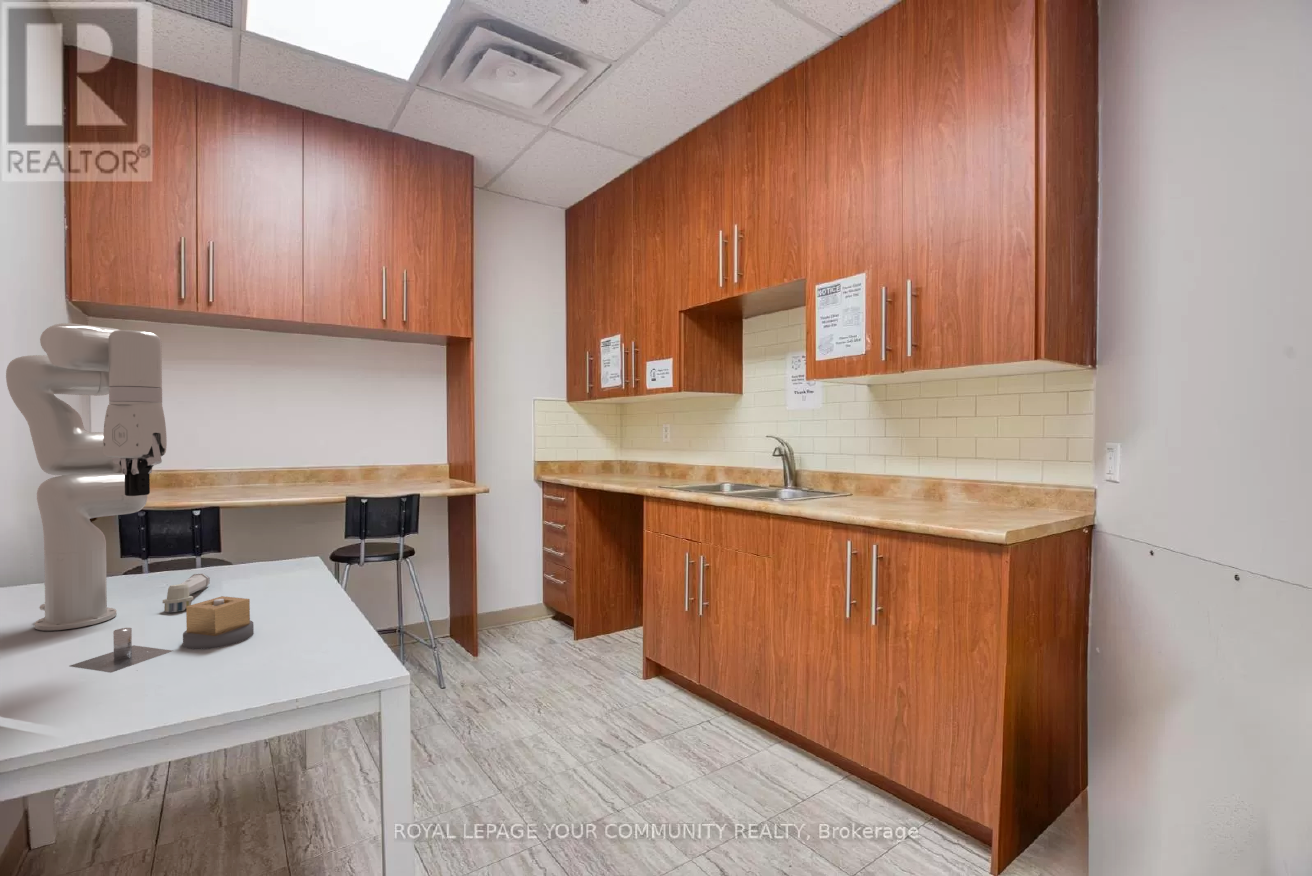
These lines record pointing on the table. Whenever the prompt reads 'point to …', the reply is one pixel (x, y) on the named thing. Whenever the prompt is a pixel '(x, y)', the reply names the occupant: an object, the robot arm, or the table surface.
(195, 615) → the collar
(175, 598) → the toothbrush head
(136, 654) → the stand
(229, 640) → the hub
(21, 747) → the table surface
